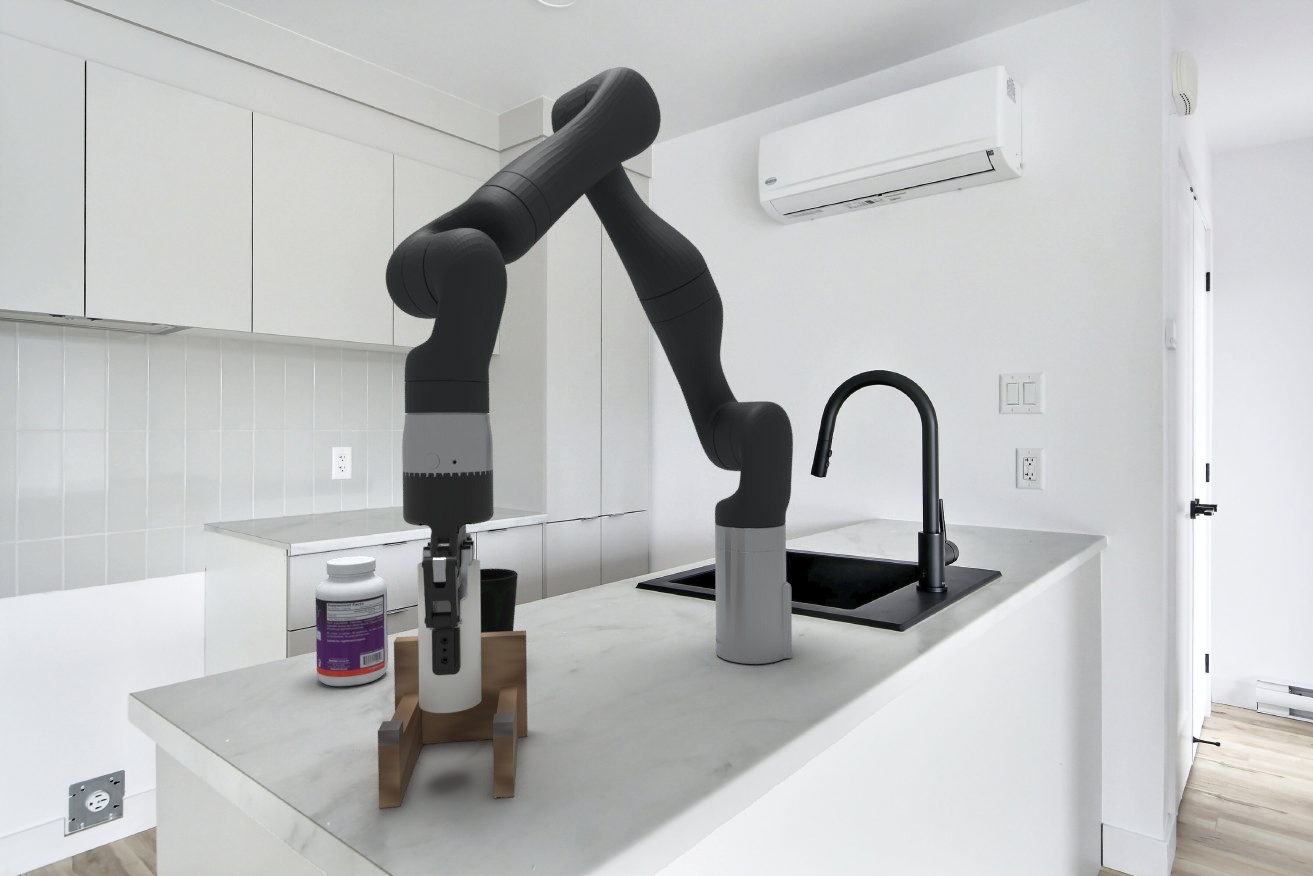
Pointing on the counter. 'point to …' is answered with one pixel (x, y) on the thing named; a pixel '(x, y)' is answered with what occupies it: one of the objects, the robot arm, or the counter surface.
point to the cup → (497, 599)
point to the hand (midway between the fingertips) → (450, 661)
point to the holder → (456, 715)
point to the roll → (466, 684)
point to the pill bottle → (351, 623)
